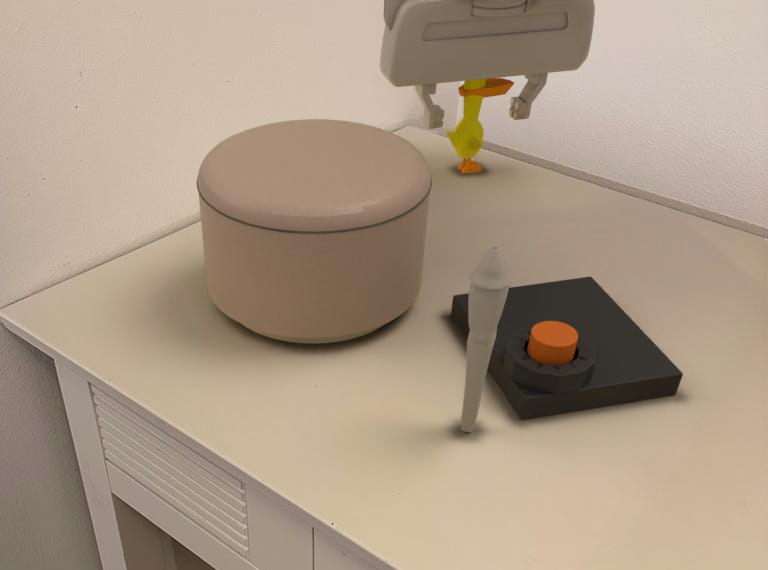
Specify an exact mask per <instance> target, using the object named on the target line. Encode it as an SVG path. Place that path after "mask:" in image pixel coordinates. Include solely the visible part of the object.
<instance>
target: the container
mask: <svg viewBox="0 0 768 570" xmlns="http://www.w3.org/2000/svg"><path fill="white" fill-rule="evenodd" d="M430 169H431V168H430V166H429V163H428V161H427V159H426V158H425V156H424V154H423V153H422V152H421V150H419V149H418V148H417V147H416V146H415V145H414V144H413V143H411V142H410V141H409V140H407V139H406V138H404V137H402V136H401V135H398V134H396V133H393V132H391V131H389V130H386V129H383V128H380V127H377V126H373V125H370V124H365V123H360V122H356V121H348V120H339V119H324V118H323V119H321V118H319V119H318V118H314V119H313V118H307V119H293V120H284V121H277V122H271V123H267V124H262V125H259V126H254V127H252V128H251V127H250V128H248V129H245V130H242V131H240V132H238V133H235V134H233V135H231V136H229V137H227V138H225V139H224V140H222V141H220V142H219V143H218V144H216V145H215V146H214V147H213V148H212V149H211V150H210V151H209V152H208V153H207V154H206V155H205V157H204V158H203V160H202V162H201V163H200V166H199V169H198V174H197V177H196V189H197V192H198V202H199V203H198V204H199V212H200V224H201V236H202V246H203V260H204V270H205V271H204V272H205V281H206V288H207V294H208V295H209V298H210V300H211V301H212V303H213V304H214V305H215V306H216V308H217V309H218V310H219V311H221V312H222V313H223V314H224V315H226V316H227V317H229V318H230V319H232V320H234V321H235V322H237V323H239V324H241V326H243V327H245V328H246V329H248V330H250V331H251V332H254V333H256V334H259V335H261V336H263V337H267V338H270V339H274V340H278V341H283V342H287V343H294V344H295V343H296V344H329V343H330V344H331V343H338V342H344V341H350V340H352V339H356V338H360V337H363V336H365V335H368V334H370V333H372V332H374V331H377V330H378V329H380V328H382V327H383V326H384V325H386V324H388V323H389V322H391V321H393V320H395V319H397V318H399V317H400V316H401V315H403V314H404V313H405V312H406V311H408V309H410V307H412V305H413V304H414V303H415V301H416V300H417V298H418V296H419V294H420V292H421V286H422V276H423V269H424V268H423V267H424V256H425V246H426V238H427V237H426V236H427V225H428V216H429V205H430V194H431V189H432V184H433V179H432V174H431V170H430Z"/></svg>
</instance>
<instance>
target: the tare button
mask: <svg viewBox="0 0 768 570" xmlns="http://www.w3.org/2000/svg"><path fill="white" fill-rule="evenodd" d="M577 341H578V333H577V331H576V330H575V329H574V328H573V327H571V326H570V325H568V324H565V323H562V322H558V321H544V322H540V323H538V324H536V325H534V326H533V328H532V330H531V334H530V339H529V344H528V349H527V352H528V355H529V357H530V358H532V359H534V360H536V361H538V362H540V363H544V364H551V365H562V364H568V363H570V362H571V361H572V360H573V357H574V353H575V349H576V345H577Z"/></svg>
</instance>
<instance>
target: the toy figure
mask: <svg viewBox="0 0 768 570" xmlns="http://www.w3.org/2000/svg"><path fill="white" fill-rule="evenodd" d="M514 85H515V82H514V81H512V80H511V79H507V78H504V77H499V78H489V79H478V80H468V81H463V84H461V85H460V86H459V87H457V90H458V94H459V96H460V97H463V116H462V118H461V120H460V121H458V123H457V124H456V125H455V126H454V130H453V131H445V135H446V136H447V138H448V140H449V142H450V144H451V145H452V147H453V149H454V151H455V152H456V154H457V157H459V158H461V159H462V160H461V161H462V162H461V163H459V165H457V169H458V170H460V171H461V173H462V174H477V173H479V172H481V171H482V165H480V164H479V163H478V161H476V160H473V159H472V158H474V157H475V156H476V155H477V154H478V152H479V151H480V150H481V149H482V147H483V142H484V141H483V140H484V127H483V125H482V124H481V122H480V119H479V116H480V111H481V108H482V104H483V100H484V98H491V97H497V96H503V95H506V94H507V93H508V92H509V90H510V89H512V87H513V86H514Z"/></svg>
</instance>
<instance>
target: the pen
mask: <svg viewBox="0 0 768 570" xmlns="http://www.w3.org/2000/svg"><path fill="white" fill-rule="evenodd" d="M512 278H513V276H512V274H511V272H510V270H509V268H508V264H507V262H506V259H505V257H504V255H503V253H502V252H501V249H500V248H499V247H498V244H494V245H493V246H492V247H491V248H490V249H489V250H488V251H487V252H486V253H485V254H484V256H483V257H482V258H481V260H480V261H479V262H478V264H477V265H476V266H475V268H474V269H473V270H471V272H470V274H469V281H470V284H469V289H468V293H469V298H468V317H469V328H470V332H469V336H468V340H467V339H466V362H465V363H466V364H465V379H464V391H463V401H462V410H461V418H460V428H461V432H464V433H465V432H466V433H472V432H473V429H474V427H475V424H476V423H477V418H478V414H479V410H480V406H481V405H480V404H481V401H482V400H481V399H482V394H483V390H484V386H485V381H486V377H487V372H488V370H487V368H488V364H489V360H490V356H491V353H492V349H493V346H494V342H495V339H496V332H497V325H498V322H499V320H500V317H501V314H502V311H503V308H504V305H505V301H506V298H507V294H508V290H509V288H510V284H511V283H512V281H513V280H512Z"/></svg>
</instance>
